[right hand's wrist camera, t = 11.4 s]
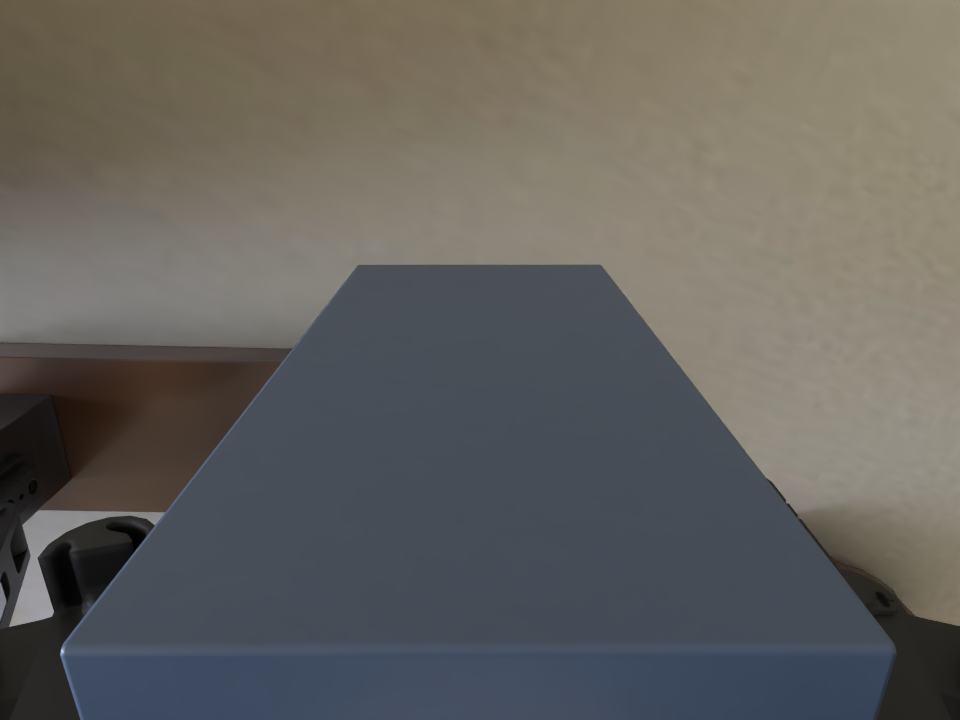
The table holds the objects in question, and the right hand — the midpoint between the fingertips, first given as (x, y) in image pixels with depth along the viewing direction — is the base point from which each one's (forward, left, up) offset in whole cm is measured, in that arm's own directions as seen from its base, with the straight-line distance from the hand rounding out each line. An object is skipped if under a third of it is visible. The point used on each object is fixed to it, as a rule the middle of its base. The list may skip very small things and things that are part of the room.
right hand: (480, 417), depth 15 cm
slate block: (0, 0, -2) cm, 2 cm away
